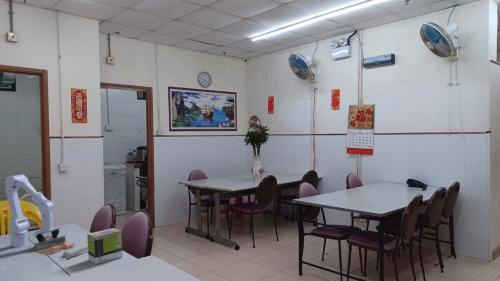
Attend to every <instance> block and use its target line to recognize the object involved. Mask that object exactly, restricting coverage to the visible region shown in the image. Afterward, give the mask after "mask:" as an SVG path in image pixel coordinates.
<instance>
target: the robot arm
mask: <svg viewBox="0 0 500 281" xmlns="http://www.w3.org/2000/svg"><path fill="white" fill-rule="evenodd" d="M4 184H5V193H6V198H7V202H8V203H7V204H8V206H9V210H10V214H11V220H10V221H9V228H8V229H9V232H10V233H11V235H10V238H9V239H10V241H9V242H10V247H11V246H12V247H13V248H21V247H25V246H28V232H29V229H30V227H31V224H30V221H29V220H28V218H27V217H26V216H24V215H23V210H22V206H21V202H20V197H19V194H18V190H19V189H20V188H21V189H23V190H25V192H27V194H29V195H30V196H31V200H32V201H33V202H34V203H35V204H36V206H38V211H39V212H40V216H41V219H40V220H41V229H39V230H37V231H33V235H34V237H35V238H36V240H37V241H38V243H39V242H43V238H44V236H45V235H44V234H47V233H51V237H53V239H54V238H57V237H59V234H60V230H61V226H59V225H58V226H53V225H54V224H53V222H54V221H53V210H54V209H55V203H54V202H53V201H52V200H49V199H48V198H46V197H45V195H44V194H43V192H38V191H37V190H36V189H35V187H34V186H33V185H32V184H31V183H30V181H29V178H28V177H27V176H26V175H25V174H24V173H23V174H22V173H21V174H16V175H8V176H7V177H6V179H5V180H4Z"/></svg>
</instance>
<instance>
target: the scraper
mask: <svg viewBox="0 0 500 281" xmlns="http://www.w3.org/2000/svg"><path fill="white" fill-rule="evenodd" d="M64 242H66V236H65V235H62V236H57V238H54V239H53V237H52V235H50V236H49V235H47V234H45V235H44V238H43V242H39V241H38V242H35V243H34V247H35V251H39V250H43V249H46V248H49V247H53V246H56V245H60V244H63V243H64Z"/></svg>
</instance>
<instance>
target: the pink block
mask: <svg viewBox="0 0 500 281" xmlns="http://www.w3.org/2000/svg"><path fill="white" fill-rule="evenodd" d="M61 252H62V249H61V246H55V247H51V252H50V253H51V254H57V253H61Z"/></svg>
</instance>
